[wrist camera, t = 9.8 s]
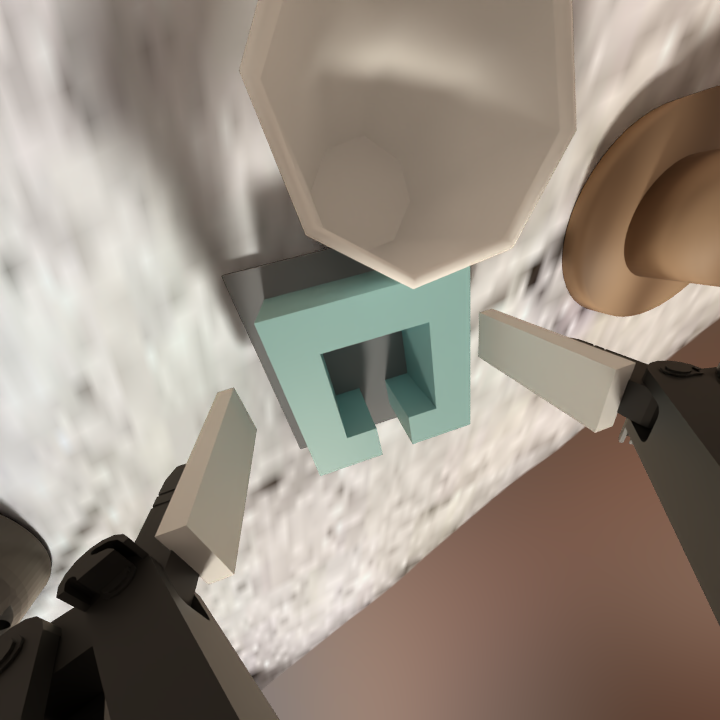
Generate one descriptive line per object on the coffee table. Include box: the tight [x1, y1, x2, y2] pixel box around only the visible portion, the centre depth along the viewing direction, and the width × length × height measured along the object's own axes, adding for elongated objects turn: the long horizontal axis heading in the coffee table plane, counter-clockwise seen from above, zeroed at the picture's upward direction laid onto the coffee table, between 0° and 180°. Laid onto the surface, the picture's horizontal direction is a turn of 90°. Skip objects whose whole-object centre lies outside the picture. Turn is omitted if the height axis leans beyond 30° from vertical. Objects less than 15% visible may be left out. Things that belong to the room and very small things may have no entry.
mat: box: [222, 248, 407, 449], centre depth 16 cm, size 12×12×1 cm
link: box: [254, 266, 470, 476], centre depth 14 cm, size 9×9×4 cm
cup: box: [239, 0, 576, 289], centre depth 9 cm, size 7×10×8 cm
